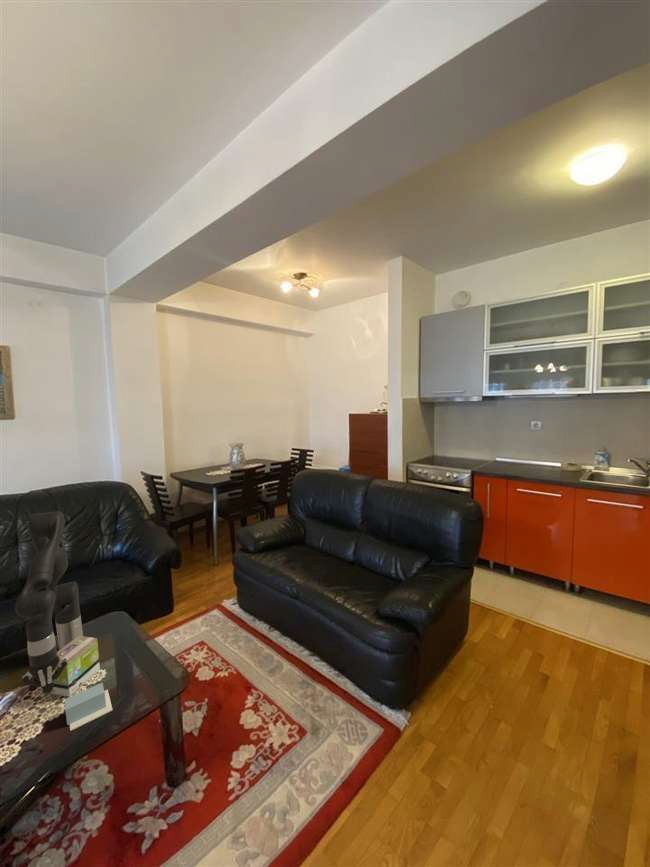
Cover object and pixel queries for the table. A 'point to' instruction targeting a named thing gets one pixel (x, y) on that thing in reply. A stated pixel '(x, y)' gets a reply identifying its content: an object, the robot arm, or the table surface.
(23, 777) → the table surface
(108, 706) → the felt mat
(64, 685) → the tea box
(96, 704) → the pale blue-gray rectangular block
